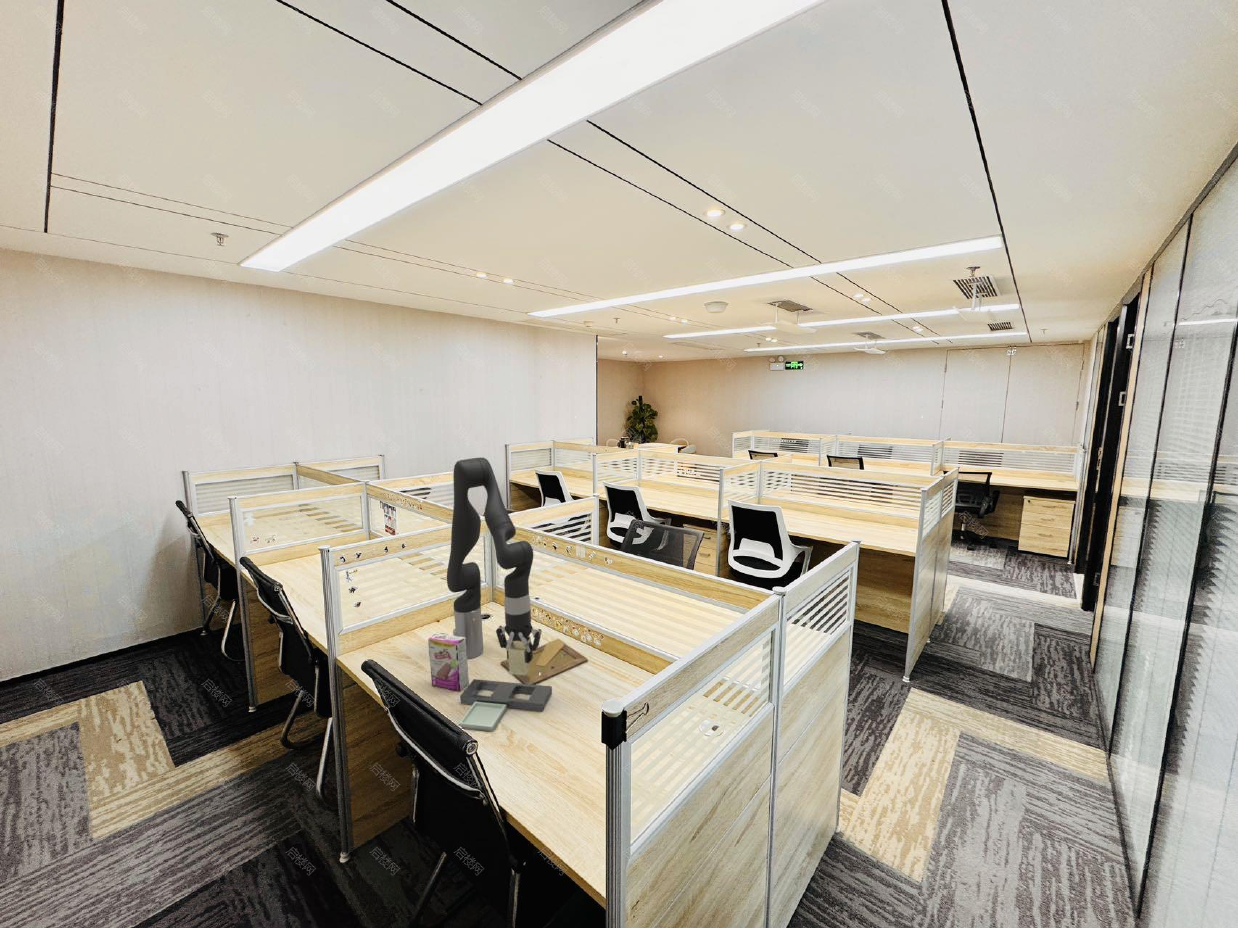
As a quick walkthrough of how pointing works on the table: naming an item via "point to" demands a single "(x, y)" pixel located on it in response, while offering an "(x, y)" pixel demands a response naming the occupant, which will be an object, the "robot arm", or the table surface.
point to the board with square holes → (508, 694)
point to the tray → (483, 716)
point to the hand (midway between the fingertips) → (520, 660)
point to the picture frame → (549, 662)
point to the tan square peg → (518, 659)
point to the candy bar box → (448, 661)
